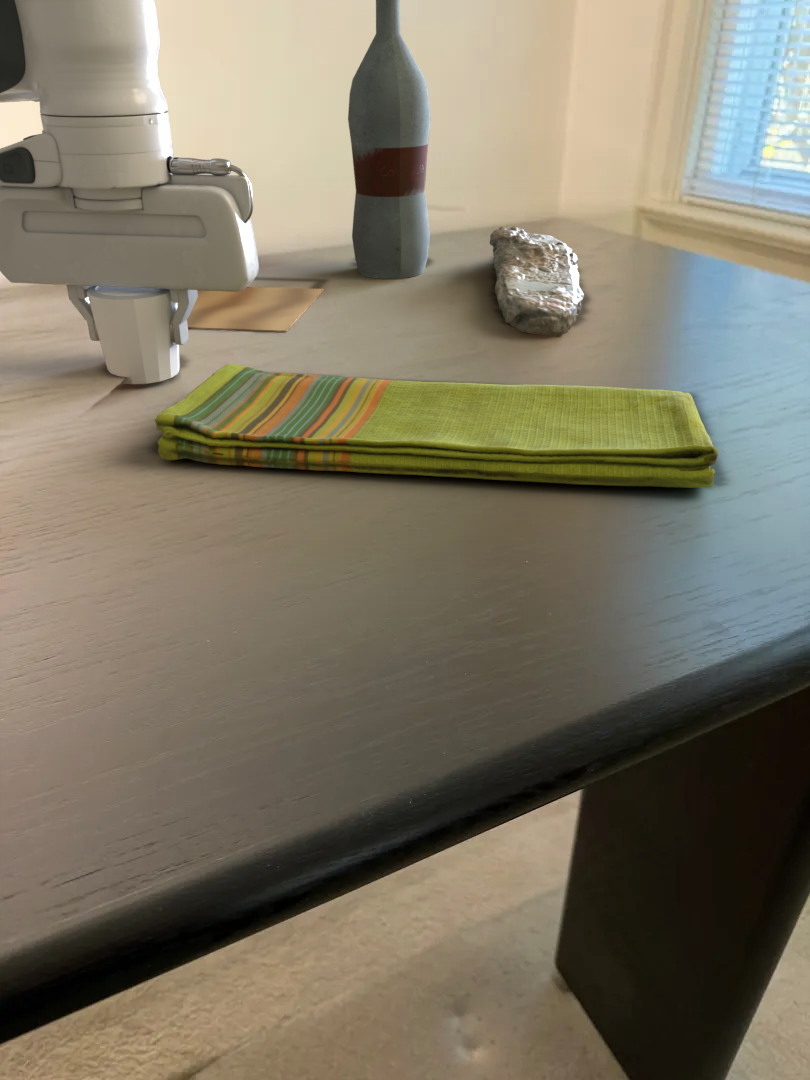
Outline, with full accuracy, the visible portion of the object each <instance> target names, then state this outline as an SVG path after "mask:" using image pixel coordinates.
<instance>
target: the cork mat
mask: <svg viewBox="0 0 810 1080" xmlns="http://www.w3.org/2000/svg"><path fill="white" fill-rule="evenodd" d="M324 290H325V289H324V288H304V287H303V288H302V287H301V288H300V287H273V286H272V287H271V286H269V287H268V286H267V287H266V286H264V287H263V286H247V287H246V288H245V289H243V290H241V291H239V292H229V291H204V290H197V293H198V298H197V300H196V302H195V304H194V306H193V309H192V311H191V313H190V315H189V317H188V319H187V325H188V330H189V329H191V330H193V329H194V330H214V331H215V330H217V331H218V330H219V331H221V330H222V331H244V332H245V331H247V332H271V333H288V331H289V330H290V329H291V328H292V327H293V325H295V324H296V322H297V321H298V320H299V319H300V318H301V317H302V316H303V314H304V313H305V312H306V311H307V310H308V309H309V308H310V307H311V305H312V304H313V303H314V302H315V301H316V300H317V299H318V297H319V296H320V295H321V294H322V293H323V292H324ZM177 305H179V302H178V303H177Z"/></svg>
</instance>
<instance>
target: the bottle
mask: <svg viewBox="0 0 810 1080" xmlns="http://www.w3.org/2000/svg"><path fill="white" fill-rule="evenodd" d="M400 5H401V3H400V0H375V34H374V37H373V39H372V40H371V42H370V43H369V47H368V48H367V50H366V53H365V54H364V56H363V58H362V60H361V61H360V64H359V66H358V68H357V70H356V71H355V74H354V76H353V78H352V80H351V84H350V90H349V96H348V97H349V99H348V111H347V123H348V128H349V137H350V145H351V156H352V165H353V177H354V186H355V195H354V206H353V219H352V231H351V239H352V245H353V246H352V247H353V253H354V254H353V255H354V259H355V263H356V266H357V267H356V268H357V270H358V273H359V275H362V276H364V277H367V278H372V279H378V280H379V279H381V280H382V279H384V280H399V279H408V278H413V277H417V276H420V275H422V274H423V273H424V272H425V269H426V267H427V262H428V258H429V257H428V256H429V249H430V238H431V233H430V223H429V213H428V207H427V199H426V191H425V190H426V181H427V179H426V178H427V165H428V150H429V138H430V130H431V121H432V117H431V116H432V115H431V106H430V105H431V104H430V95H429V94H430V93H429V90H428V86H427V85H428V84H427V81H426V78H425V76H424V74H423V73H422V71H421V68H420V67H419V65H418V63H417V61H416V60H415V58H414V56H413V54H412V53H411V50H410V48H409V47H408V45H407V43H406V41H405V39H404V38H403V36H402V34H401V11H400V10H401V7H400Z"/></svg>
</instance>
